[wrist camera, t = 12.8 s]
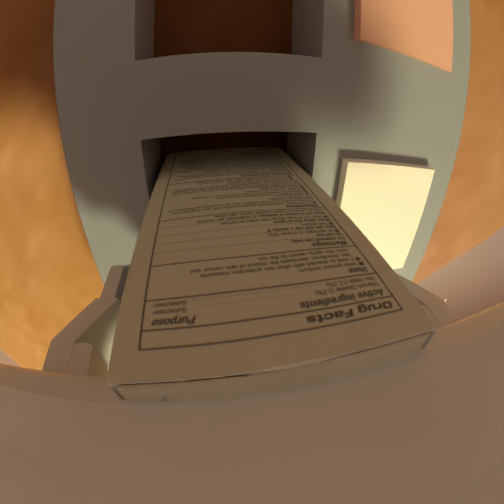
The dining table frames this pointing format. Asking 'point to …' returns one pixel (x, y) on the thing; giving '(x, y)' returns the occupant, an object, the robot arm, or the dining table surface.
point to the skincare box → (253, 285)
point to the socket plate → (270, 111)
